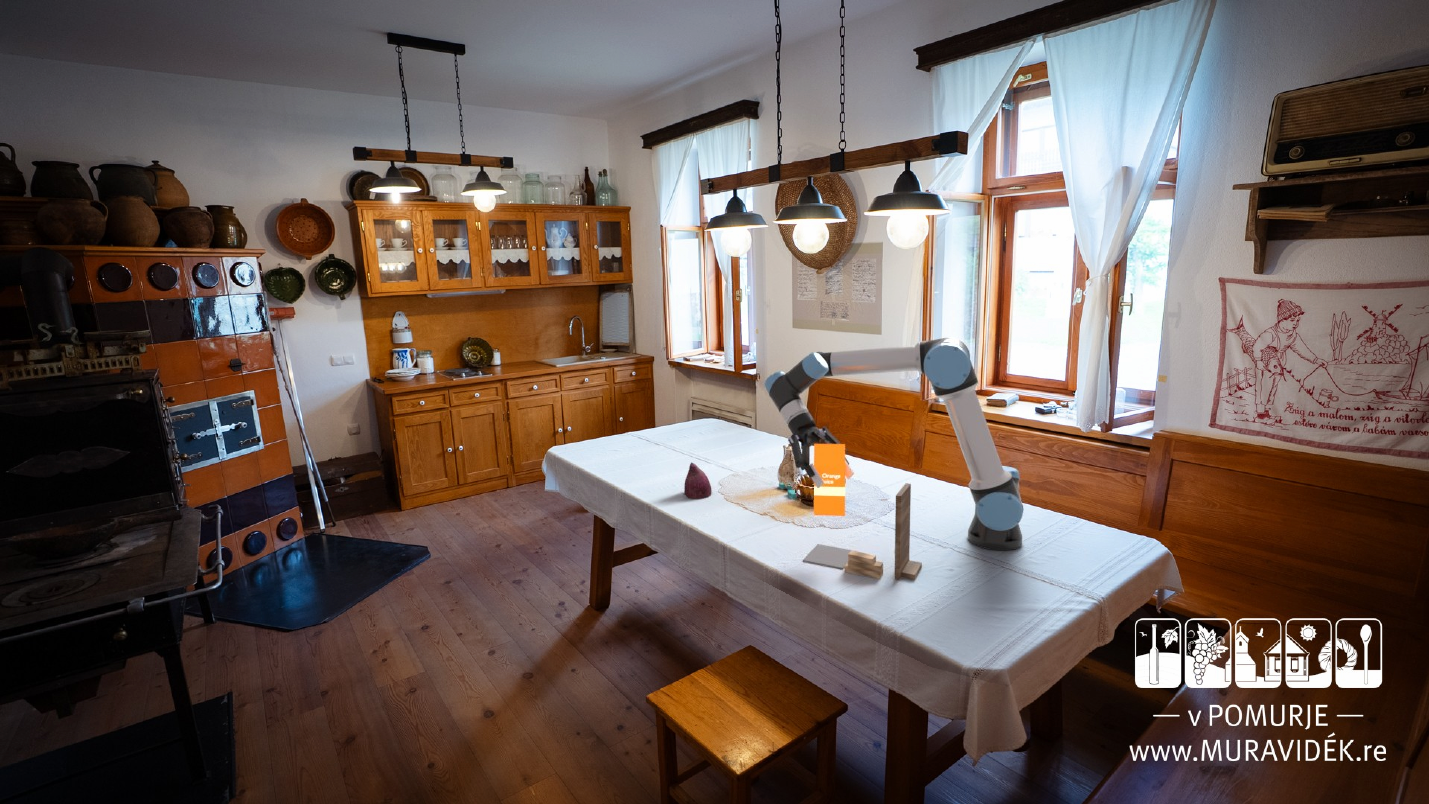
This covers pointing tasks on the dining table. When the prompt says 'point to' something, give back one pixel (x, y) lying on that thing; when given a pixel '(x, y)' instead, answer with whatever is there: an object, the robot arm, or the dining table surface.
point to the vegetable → (696, 483)
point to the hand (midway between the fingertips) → (836, 481)
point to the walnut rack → (903, 566)
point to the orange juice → (830, 479)
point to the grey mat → (828, 556)
